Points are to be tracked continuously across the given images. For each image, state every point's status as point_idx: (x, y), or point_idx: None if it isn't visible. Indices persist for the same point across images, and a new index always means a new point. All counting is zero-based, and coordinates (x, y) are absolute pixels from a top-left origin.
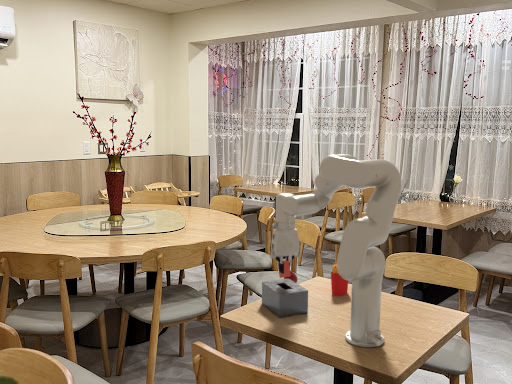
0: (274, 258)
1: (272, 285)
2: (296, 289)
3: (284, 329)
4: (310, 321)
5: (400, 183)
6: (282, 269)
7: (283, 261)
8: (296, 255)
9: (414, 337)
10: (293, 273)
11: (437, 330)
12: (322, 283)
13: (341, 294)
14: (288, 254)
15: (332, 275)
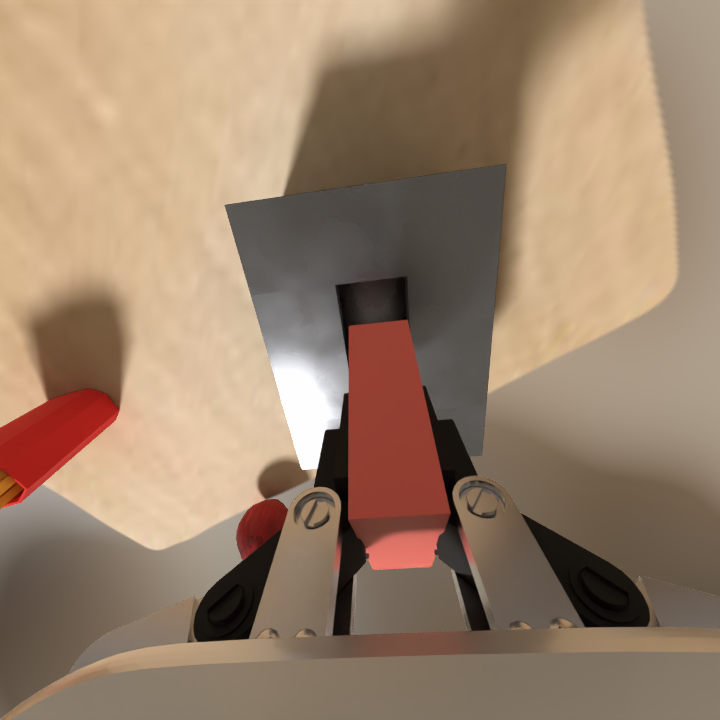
0: (675, 596)
1: (452, 386)
2: (315, 258)
3: None
4: (296, 66)
5: None
6: (434, 416)
7: (447, 511)
8: (142, 638)
9: None
10: (246, 553)
11: None
12: (147, 509)
13: (73, 393)
14: (390, 697)
15: (28, 469)
